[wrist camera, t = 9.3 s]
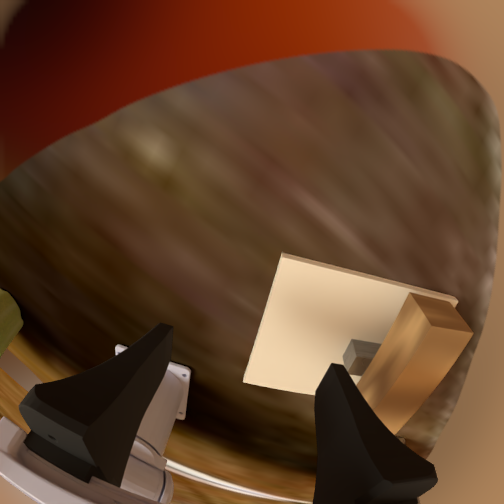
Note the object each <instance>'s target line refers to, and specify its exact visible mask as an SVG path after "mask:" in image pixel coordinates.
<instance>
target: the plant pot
mask: <svg viewBox="0 0 504 504" xmlns="http://www.w3.org/2000/svg"><path fill="white" fill-rule="evenodd" d="M22 326H23V320H22V319H21V313H20V309H19V307H18V305H17V303H16V302H15V300H14V299H13V298H12V296H11V295H10V294H9V293H8V292H7V291H3V290H1V288H0V358H1V356H2V354H3V353H4V351H5V350H6V348H7V347H8V345H9V344H10V343H11V341H12V340H13V338H14V337H15V336H16V334H17V333H18V332H19V330H20V329H21V328H22Z"/></svg>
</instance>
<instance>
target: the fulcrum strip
mask: <svg viewBox="0 0 504 504" xmlns="http://www.w3.org/2000/svg"><path fill="white" fill-rule="evenodd" d="M381 345H382V344H379V343H373V342H367V341H361V340H356V339H351V341H350V343H349V345H348V347H347V349H346V350H345V352H344V354H343V356H342V357H343V362H344V366H345V368H346V370H347V371H348V373H349V375H356V376H363V374H364V373H365V371H366V369H367V368H368V366H369V365H370V363H371V361H372V360H373V358H374V356H375V355H376V353H377V351H378V350H379V348H380V346H381Z"/></svg>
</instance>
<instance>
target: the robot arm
mask: <svg viewBox="0 0 504 504" xmlns="http://www.w3.org/2000/svg"><path fill="white" fill-rule="evenodd" d="M172 338H173V326H170V325H167V324H163V323H159V324H158V325H156V326H155V327H154V328H153V329H152V330H150V331H149V332H148V333H147V334H146V335H144V336H143V337H142V338H140V339H139V340H138V341H136V342H135V343H134V344H132V345H131V346H130V347H125V346H122V345H117V346H116V347H115V351H116V356H114V357H113V358H111V359H109V360H108V361H106V362H104V363H102V364H100V365H98V366H96V367H94V368H92V369H89V370H87V371H85V372H82V373H80V374H77V375H74V376H71V377H68V378H65V379H61V380H57V381H53V382H48V383H42V384H36V385H35V386H34V387H33V388H32V389H31V390H30V391H29V393H28V394H27V395H26V396H25V398H24V399H23V401H22V402H21V403H20V405H19V410H20V413H21V415H22V416H23V418H24V420H25V421H26V423H27V424H28V426H29V427H30V429H31V431H30V433H29V434H27V433H26V432H25V431H24V430H22V429H21V428H20V427H18V426H17V425H16V424H14V423H13V422H11V421H10V420H9V419H8V418H6V417H3V418H2V419H1V420H0V475H1V476H2V477H3V478H4V479H5V480H7V481H8V482H9V483H11V484H12V485H13V486H15V487H16V488H17V489H19V490H20V491H21V492H23V493H24V494H26V495H27V496H29V497H30V498H31V499H33V500H34V501H36V502H37V503H39V504H170V502H171V499H172V495H173V489H174V485H173V481H172V477H171V474H170V472H169V471H167V470H165V466H166V463H167V460H166V459H164V458H162V455H163V453H164V450H165V447H166V444H167V441H168V439H169V436H170V433H171V430H172V427H173V424H174V421H175V419H176V418H177V419H181V420H184V419H185V415H186V407H187V398H188V390H189V382H190V375H191V370H190V368H188V367H186V366H182V365H179V364H176V363H172V362H170V360H171V351H172ZM185 374H186V375H185ZM314 411H315V424H316V436H317V451H318V459H317V474H316V484H315V492H314V499H313V504H418V500H417V498H418V497H419V496H421V495H422V494H424V493H425V492H427V491H428V490H430V489H431V488H432V487H434V486H435V485H436V483H437V481H438V478H437V475H436V471H435V467H434V465H433V464H432V463H430V462H428V461H427V460H425V459H424V458H422V457H420V456H419V455H417V454H416V453H415V452H413V451H412V450H411V449H410V448H408V447H407V446H406V445H405V444H403V443H402V442H401V441H400V440H399V439H398V438H397V437H396V436H395V435H394V434H393V433H392V432H391V431H390V430H389V429H388V428H387V427H386V426H385V425H384V424H383V422H382V421H381V420H380V419H379V418H378V416H377V415H376V414H375V412H374V411H373V410H372V408H371V407H370V406H369V404H368V403H367V401H366V400H365V398H364V397H363V395H362V394H361V392H360V391H359V389H358V388H357V386H356V384H355V383H354V381H353V380H352V378H351V376H350V375H349V373H348V371H347V370H346V368H345V367H344V365H342V364H336V363H331V364H330V366H329V368H328V370H327V371H326V373H325V375H324V377H323V379H322V380H321V382H320V384H319V386H318V387H317V389H316V391H315V407H314Z"/></svg>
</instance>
